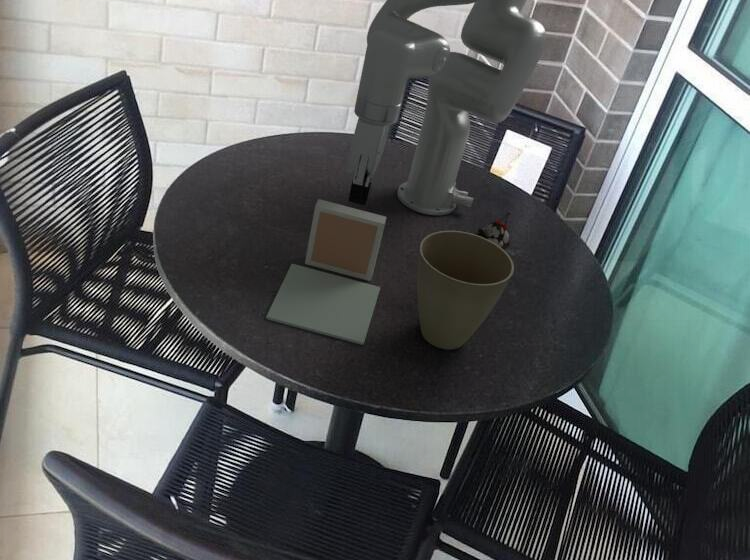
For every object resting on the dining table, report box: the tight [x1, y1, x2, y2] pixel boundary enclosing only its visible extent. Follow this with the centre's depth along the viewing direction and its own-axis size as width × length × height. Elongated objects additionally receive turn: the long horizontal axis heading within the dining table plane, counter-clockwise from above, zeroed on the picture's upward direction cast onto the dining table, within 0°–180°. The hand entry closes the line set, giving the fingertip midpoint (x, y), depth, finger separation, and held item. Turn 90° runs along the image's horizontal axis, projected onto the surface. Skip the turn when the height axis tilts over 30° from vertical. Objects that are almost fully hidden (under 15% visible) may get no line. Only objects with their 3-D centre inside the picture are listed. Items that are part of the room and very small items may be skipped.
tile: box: [304, 198, 387, 282], centre depth 141 cm, size 12×3×12 cm, turn 81°
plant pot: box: [416, 230, 515, 350], centre depth 130 cm, size 15×15×16 cm
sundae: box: [474, 212, 513, 251], centre depth 145 cm, size 7×7×15 cm
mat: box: [265, 263, 381, 346], centre depth 135 cm, size 16×16×1 cm
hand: (357, 201), depth 145 cm, fingers closed
